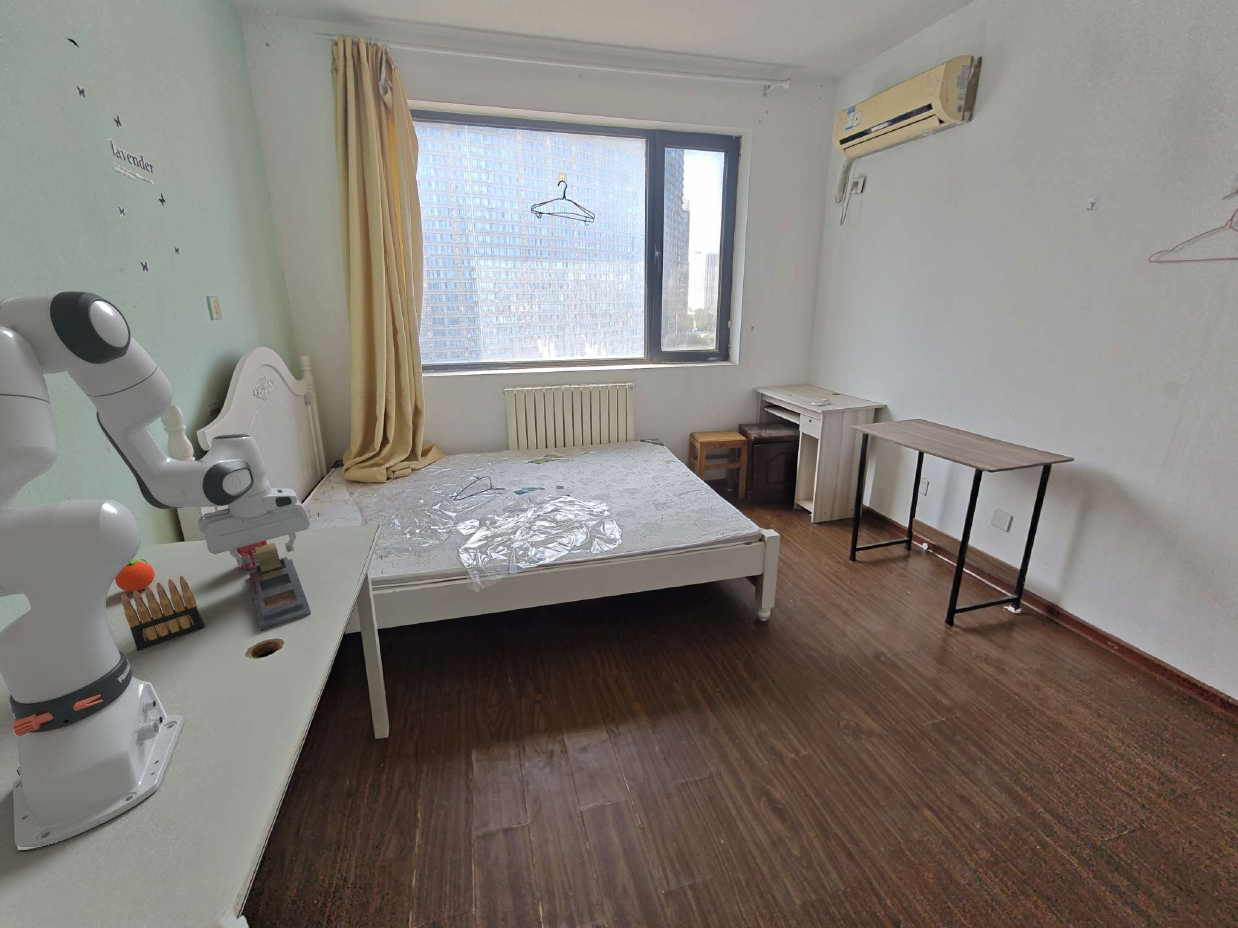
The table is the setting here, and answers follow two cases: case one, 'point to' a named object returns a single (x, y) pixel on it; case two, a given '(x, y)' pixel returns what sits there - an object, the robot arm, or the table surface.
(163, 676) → the table surface
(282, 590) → the slotted tray
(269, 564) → the tan rectangular block
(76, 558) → the robot arm
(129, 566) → the clementine
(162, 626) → the ammunition clip
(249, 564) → the soda can
